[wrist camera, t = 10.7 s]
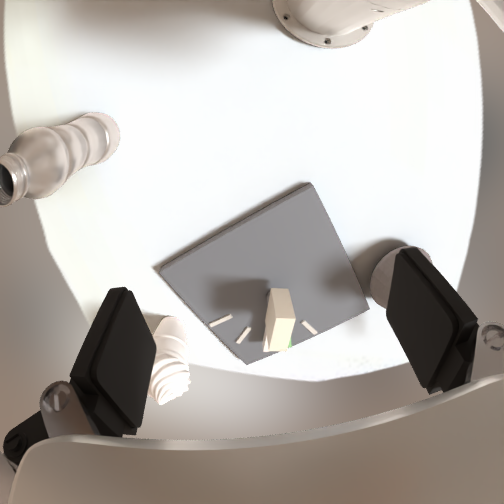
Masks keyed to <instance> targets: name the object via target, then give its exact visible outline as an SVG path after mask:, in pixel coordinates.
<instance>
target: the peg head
mask: <svg viewBox="0 0 504 504" xmlns="http://www.w3.org/2000/svg"><path fill="white" fill-rule="evenodd" d="M266 297H267V304H268V307H267V312H266V318H265V325H266V327H265V332H264V337H263V342H262V345H263V352H269V351H287V348H288V345H289V341H290V338H291V334H292V330H293V327H294V323H295V320H296V318H295V314H294V309H293V305H292V301H291V297H290V293H289V289H282V288H271V290H270V291H269V292H268V293H267V295H266Z"/></svg>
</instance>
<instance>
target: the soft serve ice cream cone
mask: <svg viewBox="0 0 504 504" xmlns="http://www.w3.org/2000/svg"><path fill="white" fill-rule="evenodd" d="M153 338H154V340H155V343H156V347H157V351H156V356H155V361H154V365H153V370H152V374H151V379H150V384H149V389H148V393H147V395H148V396H150V397H152V398H154V399H155V401H156V402H157V403H158V404H160V405H162V404H164V403H166V402H167V401H169V400H172V399H175V396H181V395H182V393H183V392H185V391H187V390H188V387H187V385H188V384H189V383H191V380H190V379H189V378H188V377H189V375H190V372H188V371H189V365H188V354H189V349H188V346H187V338H186V329H185V324H184V322H183V321H182V320H180V319H179V318H177V317H172V316H169V317H165V318H163V319H162V320H161V322H160V324H159V325H158V327H157V329H156V331H155V332H154V334H153Z"/></svg>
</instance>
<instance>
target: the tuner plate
mask: <svg viewBox="0 0 504 504" xmlns="http://www.w3.org/2000/svg"><path fill="white" fill-rule="evenodd" d="M159 273H160V274H161V276H162V277H163V278H164V279H165V280H166V281H167V282H168V283H169V285H170V286H171V287H172V288H173V289H174V290H175V291H176V292H177V294H178V295H179V296H180V297H181V298H182V299H183V300H184V301H185V302H186V303H187V305H188V306H189V307H190V308H191V309H192V310H193V311H194V312H195V313H196V314H197V315H198V316H199V317H200V318H201V319H202V321H203V322H204V323H205V324H206V325H207V326H208V327H209V328H210V329H211V330H212V331H213V332H214V333H215V334H216V335H217V336H218V337H219V338H220V339H221V340H222V341H223V342H224V343H225V344H226V345H227V346H228V347H229V348H230V349H231V350H232V351H233V352H234V353H235V354H236V355H237V356H238V357H239V358H240V359H241V360H242V361H243V362H244V363H245V364H246V365H248V364H250V363H253V362H255V361H258V360H260V359H263V358H265V357H268V356H270V355H273V354H275V353H278V352H280V351H269V352H263V345H262V342H263V337H264V332H265V327H266V325H265V318H266V312H267V307H268V304H267V297H266V295H267V293H268V292H269V291H270V290H271V288H282V289H289V293H290V297H291V301H292V305H293V309H294V314H295V318H296V320H295V323H294V327H293V330H292V334H291V338H290V341H289V345H288V348H289V347H292V346H294V345H296V344H298V343H301V342H303V341H305V340H307V339H310V338H312V337H314V336H316V335H318V334H320V333H323V332H325V331H327V330H329V329H331V328H333V327H335V326H337V325H339V324H341V323H343V322H345V321H347V320H349V319H351V318H353V317H355V316H357V315H359V314H361V313H363V312H365V311H367V310H369V309H370V308H369V306H368V303H367V301H366V298H365V296H364V293H363V291H362V289H361V286H360V284H359V282H358V279H357V277H356V275H355V272H354V270H353V268H352V265H351V263H350V261H349V259H348V256H347V254H346V252H345V250H344V248H343V245H342V243H341V241H340V239H339V237H338V235H337V233H336V231H335V228H334V226H333V224H332V222H331V220H330V218H329V216H328V214H327V212H326V210H325V208H324V206H323V204H322V202H321V200H320V198H319V196H318V194H317V192H316V190H315V188H314V186H313V185H312V184H311V183H309V184H307V185H305V186H303V187H302V188H300V189H298V190H296V191H294V192H292V193H291V194H289V195H287V196H285V197H283V198H281V199H280V200H278V201H276V202H274V203H272V204H270V205H269V206H267V207H265V208H263V209H261V210H260V211H258V212H256V213H254V214H252V215H251V216H249V217H247V218H245V219H243V220H242V221H240V222H238V223H236V224H235V225H233V226H231V227H229V228H228V229H226V230H224V231H222V232H220V233H219V234H217V235H215V236H214V237H212V238H210V239H208V240H207V241H205V242H203V243H201V244H200V245H198V246H196V247H194V248H193V249H191V250H189V251H188V252H186V253H184V254H182V255H181V256H179V257H177V258H176V259H174V260H172V261H171V262H169V263H167V264H166V265H164V266H162V267H161V269H160V272H159Z"/></svg>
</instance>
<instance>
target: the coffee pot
mask: <svg viewBox="0 0 504 504" xmlns="http://www.w3.org/2000/svg"><path fill="white" fill-rule="evenodd" d="M409 247H415V246H403V247H399V248H397V249H395V250H393V251H391V252H389V253H388V254H387V255H385V256H384V257H383V258H382V259H381V260H380V261H379V263H378V264H377V265H376V267H375V269H374V271H373V273H372V276H371V282H370V291H371V295H372V298H373V299H374V301H375V302H376V303H377V304H379V305H380V306H382V307H384V308H385V309H387V304H388V299H389V293H390V287H391V282H392V275H393V269H394V262H395V256H396V254H397V253H399V251H400V250H401V249H403V248H409ZM417 248H418V247H417ZM418 249H419V250H420V251H421V252H422V254H423V255H424V256H425V257H426V258H427V259H428V260H429V261H430V262H431V263H432V260H431V258H430V256H429V254H428V253H427V252H426V251H425V250H423V249H421V248H418Z"/></svg>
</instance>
